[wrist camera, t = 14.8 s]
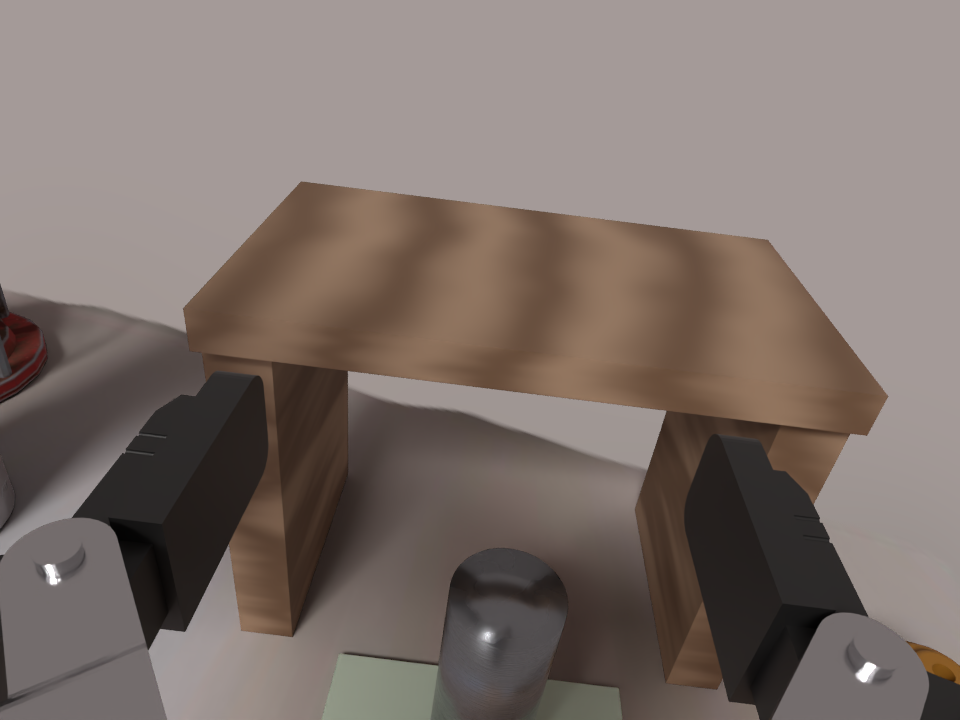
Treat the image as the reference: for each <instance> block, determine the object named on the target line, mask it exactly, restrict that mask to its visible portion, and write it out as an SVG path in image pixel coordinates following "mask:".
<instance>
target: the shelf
mask: <svg viewBox="0 0 960 720" xmlns="http://www.w3.org/2000/svg"><path fill="white" fill-rule="evenodd" d="M183 310H184V317H185V324H186V330H187V337H188V343H189V350H190V351H192V352H200V353H202V357H203V364H204V371H205V378H206V382H207V380H208V379H209V377H210V376H211V375H212V374H213V373H214V372H215V371H226V372H234V373H242V374H250V375H258V376H260V377H261V378H262V381H263V385H264V395H265V407H266V418H267V430H268V443H269V447H268V457H267V462H266V467H265V470H264V473H263V476H262V478H261V480H260V482H259V484H258V486H257V488H256V490H255V492H254V494H253V496H252V498H251V500H250V502H249V504H248V506H247V508H246V510H245V512H244V514H243V516H242V518H241V520H240V522H239V524H238V526H237V528H236V530H235V532H234V534H233V536H232V538H231V540H230V542H229V547H230V554H231V561H232V568H233V575H234V582H235V589H236V596H237V603H238V610H239V617H240V624H241V631H249V632H257V633H265V634H273V635H281V636H289V637H293V634H294V631H295V628H296V625H297V622H298V619H299V616H300V613H301V610H302V607H303V604H304V601H305V598H306V595H307V593H308V590H309V587H310V584H311V581H312V578H313V575H314V572H315V569H316V566H317V563H318V560H319V557H320V554H321V551H322V548H323V546H324V543H325V540H326V537H327V534H328V531H329V528H330V525H331V522H332V519H333V516H334V513H335V510H336V507H337V504H338V501H339V499H340V496H341V493H342V490H343V487H344V484H345V481H346V478H347V475H348V371H353V372H361V373H369V374H377V375H385V376H393V377H401V378H409V379H417V380H425V381H434V382H442V383H450V384H457V385H466V386H473V387H481V388H490V389H497V390H506V391H513V392H521V393H529V394H537V395H545V396H554V397H562V398H569V399H578V400H586V401H594V402H601V403H610V404H617V405H625V406H633V407H641V408H650V409H658V410H666V411H667V412H666V415H665V419H664V421H663V424H662V428H661V431H660V434H659V437H658V440H657V443H656V446H655V449H654V452H653V455H652V458H651V462H650V465H649V468H648V471H647V474H646V477H645V480H644V483H643V486H642V489H641V493H640V496H639V499H638V502H637V505H636V508H635V513H636V518H637V524H638V529H639V535H640V540H641V546H642V552H643V557H644V563H645V568H646V574H647V580H648V585H649V591H650V596H651V602H652V608H653V613H654V619H655V624H656V630H657V636H658V641H659V647H660V652H661V658H662V663H663V669H664V675H665V680H666V683H669V684H677V685H685V686H693V687H701V688H709V689H717V688H718V686H719V685H720V683H721V681H722V679H723V677H722V673H721V669H720V665H719V661H718V657H717V653H716V649H715V646H714V642H713V638H712V634H711V630H710V626H709V622H708V618H707V614H706V610H705V606H704V603H703V599H702V595H701V591H700V587H699V583H698V579H697V575H696V571H695V567H694V564H693V560H692V556H691V552H690V548H689V544H688V540H687V536H686V532H685V527H684V508H685V502H686V498H687V494H688V492H689V489H690V486H691V484H692V481H693V478H694V476H695V473H696V470H697V468H698V465H699V462H700V460H701V457H702V455H703V452H704V449H705V447H706V444H707V442H708V440H709V438H710V437H711V436H712V435H713V434H721V435H729V436H737V437H745V438H753V439H757V440H759V441H760V442H761V444H762V446H763V448H764V450H765V452H766V455H767V457H768V459H769V461H770V464H771V466H772V468H773V470H779V471H786V472H787V473H788V474H789V475H790V476H791V477H792V478H793V479H794V480H795V481H796V482H797V483H798V484H799V485H800V486H801V487H802V488H803V489H804V490H805V491H806V492H807V493H808V495H809V497H810V499H811V501H812V503H813V504H814V502H815V500H816V499H817V497H818V495H819V493H820V491H821V489H822V487H823V485H824V483H825V481H826V479H827V477H828V476H829V474H830V472H831V470H832V468H833V466H834V464H835V462H836V460H837V458H838V456H839V454H840V453H841V450H842V449H843V447H844V445H845V443H846V441H847V439H848V437H849V435H850V434H858V435H866V436H867V435H868V433H869V431H870V429H871V427H872V425H873V424H874V422H875V420H876V418H877V416H878V414H879V412H880V410H881V409H882V407H883V405H884V403H885V401H886V399H887V398H888V395H887V394H886V393H885V392H884V390H883V389H882V388H881V386H880V385H879V384H878V382H877V381H876V380H875V379H874V377H873V376H872V375H871V373H870V372H869V371H868V370H867V368H866V367H865V366H864V364H863V363H862V362H861V360H860V359H859V358H858V357H857V355H856V354H855V353H854V351H853V350H852V349H851V347H850V346H849V345H848V343H847V342H846V341H845V340H844V338H843V337H842V336H841V334H840V333H839V332H838V331H837V329H836V328H835V327H834V325H833V324H832V323H831V322H830V320H829V319H828V317H827V316H826V315H825V314H824V312H823V311H822V310H821V308H820V307H819V306H818V304H817V303H816V302H815V301H814V299H813V298H812V297H811V295H810V294H809V293H808V292H807V290H806V289H805V288H804V286H803V285H802V284H801V283H800V281H799V280H798V279H797V277H796V276H795V275H794V273H793V272H792V271H791V269H790V268H789V267H788V266H787V264H786V263H785V262H784V260H783V259H782V258H781V257H780V255H779V254H778V253H777V251H776V250H775V249H774V247H773V246H772V245H771V243H770V242H769V241H768V240H764V239H755V238H748V237H740V236H732V235H724V234H715V233H707V232H700V231H691V230H683V229H676V228H668V227H660V226H652V225H644V224H636V223H628V222H620V221H612V220H604V219H596V218H588V217H580V216H572V215H564V214H556V213H548V212H540V211H532V210H524V209H516V208H508V207H500V206H492V205H484V204H476V203H468V202H460V201H452V200H444V199H436V198H429V197H420V196H413V195H404V194H397V193H389V192H381V191H372V190H365V189H356V188H349V187H340V186H333V185H324V184H317V183H308V182H300V183H299V184H298V185H297V187H296V188H295V189H294V190H293V191H292V192H291V193H290V194H289V195H288V196H287V197H286V198H285V199H284V201H283V202H282V203H281V204H280V205H279V206H278V207H277V208H276V209H275V210H274V211H273V212H272V213H271V214H270V216H269V217H268V218H267V219H266V220H265V221H264V222H263V223H262V224H261V225H260V227H258V228H257V230H256V231H255V232H254V233H253V234H252V235H251V236H250V237H249V238H248V239H247V240H246V241H245V243H244V244H243V245H242V246H241V247H240V248H239V249H238V250H237V251H236V252H235V253H234V254H233V256H231V257H230V259H229V260H228V261H227V262H226V263H225V264H224V265H223V266H222V267H221V268H220V269H219V270H218V272H217V273H216V274H215V275H214V276H213V277H212V278H211V279H210V280H209V281H208V282H207V283H206V285H204V287H203V288H202V289H201V290H200V291H199V292H198V293H197V294H196V295H195V296H194V297H193V298H192V299H191V300H190V302H189V303H188V304H187V305H186V306H185V307H184V308H183Z"/></svg>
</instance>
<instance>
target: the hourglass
mask: <svg viewBox="0 0 960 720" xmlns="http://www.w3.org/2000/svg"><path fill="white" fill-rule="evenodd" d="M47 359H48V357H47V349H46V343H45V339H44V336H43V332H42V330H41V329H40V328H39V327H38V326H37V325H36V324H35V323H34V322H32V321H31V320H30V319H27V318H25V317H22V316H20V315H17V314H14V313H12V312H9V310H8V307H7V304H6V301H5V298H4V294H3V291H2V288H1V285H0V402H1V401H3V400H5V399H7V398H8V397H10V396H12V395H14V394H16V393H18V392H19V391H20V390H21V389H22V388H24V387H25V386H26V385H27V384H28V383H30V382H31V381H32V380H33V379H34V378H35V377H37V376H38V375H39V373H40V371H41V369H42V368H43V366H44V364H45V362H46V360H47Z"/></svg>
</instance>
